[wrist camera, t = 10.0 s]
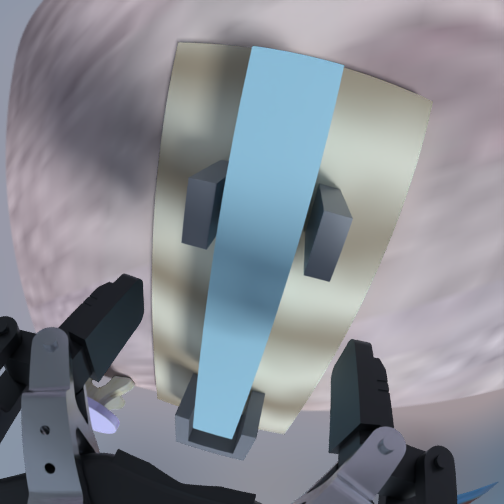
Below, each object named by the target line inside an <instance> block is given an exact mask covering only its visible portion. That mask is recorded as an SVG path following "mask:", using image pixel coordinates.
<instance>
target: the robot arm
mask: <svg viewBox="0 0 504 504" xmlns="http://www.w3.org/2000/svg"><path fill="white" fill-rule="evenodd" d="M143 314H144V298H143V281H142V280H141V279H139V278H136V277H133V276H130V275H127V274H122V275H121V276H120V277H119V278H118V279H117V280H116V281H115V282H114V283H111V282H108V283H106V284H104V285H102V286H100V287H98V288H97V289H96V290H95V291H94V292H93V293H92V294H91V295H90V297H88V298H87V299H86V300H85V301H84V302H83V304H81V305H80V306H79V307H78V308H77V309H76V310H75V311H74V312H73V313H72V314H71V315H70V316H69V317H68V318H67V319H66V320H65V321H64V322H63V323H62V325H61V326H60V327H59V328H55V327H49V328H45V329H42V330H41V331H39V332H38V333H37V334H35V333H31V332H27V331H22V330H19V328H18V325H17V323H16V321H15V320H14V319H13V318H11V317H8V316H3V317H0V369H1V368H2V367H3V366H4V367H5V369H6V370H5V371H4V373H3V374H2V375H1V376H0V443H1V441H2V440H3V438H4V436H5V434H6V433H7V431H8V429H9V428H10V426H11V424H12V423H13V421H14V419H15V417H16V416H17V414H18V413H19V411H20V410H21V419H22V420H21V421H22V441H23V453H24V462H25V470H26V473H23V474H19V475H15V476H11V477H7V478H3V479H0V504H261V503H259V502H257V501H255V497H256V494H251V493H246V492H241V491H237V490H233V489H229V488H224V487H219V486H202V485H190V484H183V483H180V482H178V481H176V480H175V479H173V478H171V477H170V476H168V475H167V474H165V473H164V472H162V471H161V470H159V469H158V468H156V467H155V466H153V465H152V464H150V463H149V462H146V461H144V460H141V459H139V458H137V457H135V456H132V455H130V454H128V453H126V452H124V451H122V450H120V449H118V450H117V452H116V454H115V455H114V454H108V453H100V452H99V447H98V444H97V441H96V438H95V435H94V433H93V429H92V425H91V419H90V413H89V406H88V399H87V391H86V385H85V383H86V382H87V380H88V379H89V378H91V379H93V380H95V381H97V382H99V381H100V380H101V378H102V377H103V375H104V374H105V372H106V371H107V370H108V368H109V367H110V365H111V364H112V362H113V361H114V359H115V358H116V357H117V355H118V354H119V352H120V351H121V349H122V348H123V347H124V345H125V344H126V342H127V341H128V340H129V338H130V337H131V335H132V334H133V333H134V331H135V330H136V328H137V327H138V326H139V324H140V322H141V320H142V318H143ZM387 381H388V380H387V374H386V369H385V368H384V366H383V364H382V362H381V361H380V359H379V358H374V357H373V351H372V345H371V343H368V342H364V341H359V340H354V339H351V340H350V341H349V342H348V344H347V346H346V347H345V349H344V351H343V352H342V354H341V356H340V357H339V359H338V361H337V362H336V364H335V366H334V368H333V372H332V376H331V409H330V436H329V453H334V454H339V456H338V461H337V462H336V463H335V464H334V465H333V466H332V467H331V468H330V469H329V470H328V471H327V472H326V473H325V474H324V475H323V476H322V477H321V478H320V479H319V480H318V481H317V482H316V483H315V484H314V485H313V486H312V487H311V488H310V489H309V490H307V491H306V492H305V493H304V494H303V495H302V496H301V497H299V498H298V499H296V500H295V501H294V502H292V503H291V504H374V503H373V499H374V498H375V496H376V494H379V501H378V504H457V488H456V473H455V464H454V458H453V455H452V454H451V452H450V451H449V450H448V449H447V448H445V447H443V446H434V447H432V448H430V449H429V450H428V451H423V450H420V449H417V448H414V447H411V446H409V445H406V442H405V439H404V437H403V436H402V434H401V433H400V432H399V431H397V430H396V429H394V425H393V416H392V408H391V400H390V393H388V392H389V387H388V383H387Z"/></svg>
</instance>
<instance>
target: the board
mask: <svg viewBox="0 0 504 504" xmlns="http://www.w3.org/2000/svg"><path fill="white" fill-rule="evenodd" d="M251 50H252V48H249V47H241V46H231V45H220V44H206V43H178V46H177V51H176V55H175V60H174V65H173V70H172V75H171V80H170V85H169V91H168V97H167V103H166V109H165V116H164V122H163V129H162V137H161V145H160V153H159V162H158V172H157V183H156V195H155V209H154V226H153V250H152V321H153V346H154V362H155V376H156V387H157V396H158V397H157V398H158V399H160V400H162V401H165V402H168V403H171V404H173V405H176V406H179V405H180V403H181V400H182V398H183V396H184V393H185V391H186V389H187V386H188V384H189V382H190V379H191V377H192V375H193V374H196V375H198V370H199V361H200V352H201V344H202V336H203V327H204V319H205V312H206V304H207V297H208V289H209V282H210V275H211V268H212V261H213V254H214V248H215V241H216V237H215V239H214V240H213V241H212V243H211V244H210V246H209V247H208V248H207V250H206V249H202V248H199V247H195V246H191V245H187V244H184V243H181V241H182V230H183V221H184V211H185V202H186V194H187V186H188V178H189V177H191V176H192V175H194V174H196V173H198V172H199V171H201V170H203V169H205V168H207V167H209V166H210V165H212V164H214V163H216V162H218V161H220V160H225V161H229V158H230V153H231V147H232V142H233V137H234V131H235V126H236V121H237V116H238V111H239V106H240V101H241V96H242V91H243V87H244V82H245V77H246V73H247V68H248V63H249V59H250V55H251ZM432 103H433V101H430V100H428V99H426V98H424V97H422V96H420V95H417V94H415V93H413V92H411V91H408V90H406V89H403V88H401V87H398V86H396V85H393V84H391V83H388V82H386V81H383V80H380V79H377V78H375V77H372V76H369V75H366V74H363V73H360V72H357V71H354V70H350V69H347V68H344V69H343V73H342V78H341V82H340V87H339V91H338V95H337V100H336V104H335V108H334V112H333V117H332V121H331V125H330V129H329V133H328V137H327V141H326V145H325V149H324V153H323V156H322V160H321V164H320V168H319V172H318V175H317V179H316V183H315V187H314V190H313V194H312V197H311V201H310V205H309V208H308V212H307V215H306V219H305V222H304V226H303V229H302V233H301V236H300V239H299V243H298V246H297V250H296V253H295V256H294V260H293V263H292V266H291V269H290V273H289V276H288V279H287V282H286V285H285V289H284V292H283V295H282V298H281V301H280V304H279V307H278V311H277V314H276V317H275V320H274V323H273V326H272V329H271V332H270V335H269V338H268V341H267V344H266V347H265V350H264V353H263V355H262V358H261V361H260V364H259V367H258V370H257V373H256V375H255V378H254V381H253V384H252V387H251V389H250V392H249V395H248V398H247V400H246V403H245V406H244V409H243V411H242V415H243V414H244V411H245V408H246V406H247V403H248V401H249V398H250V395H251V393H252V391H256V392H260V393H265V398H264V403H263V408H262V413H261V418H260V423H259V427H258V429H260V430H265V431H270V432H275V433H280V434H285V432H286V431H287V430H288V428H289V427H290V425H291V424H292V422H293V421H294V419H295V418H296V416H297V415H298V413H299V412H300V410H301V409H302V407H303V406H304V404H305V403H306V401H307V400H308V398H309V397H310V395H311V393H312V392H313V390H314V389H315V387H316V385H317V384H318V382H319V381H320V379H321V377H322V376H323V374H324V372H325V370H326V369H327V367H328V365H329V364H330V362H331V360H332V358H333V357H334V355H335V353H336V351H337V350H338V348H339V346H340V344H341V342H342V340H343V339H344V337H345V335H346V333H347V331H348V329H349V327H350V325H351V324H352V322H353V320H354V318H355V316H356V314H357V312H358V310H359V308H360V306H361V304H362V302H363V300H364V297H365V295H366V293H367V291H368V289H369V287H370V285H371V283H372V280H373V278H374V276H375V274H376V272H377V269H378V267H379V265H380V262H381V260H382V258H383V255H384V253H385V251H386V248H387V246H388V243H389V241H390V238H391V236H392V233H393V231H394V228H395V226H396V223H397V220H398V218H399V215H400V212H401V210H402V207H403V204H404V201H405V198H406V195H407V192H408V189H409V187H410V183H411V180H412V177H413V174H414V171H415V168H416V164H417V161H418V158H419V154H420V151H421V147H422V144H423V140H424V136H425V132H426V129H427V125H428V121H429V116H430V112H431V108H432ZM319 183H320V184H324V185H327V186H331V187H334V188H337V189H340V190H341V192H342V195H343V197H344V199H345V201H346V204H347V206H348V208H349V211H350V213H351V215H352V218H353V220H352V223H351V226H350V229H349V232H348V235H347V237H346V240H345V243H344V246H343V248H342V251H341V254H340V257H339V259H338V262H337V265H336V267H335V270H334V272H333V275H332V278H331V280H330V282H328V281H324V280H320V279H316V278H312V277H308V276H304V275H303V274H304V250H305V231H306V228H307V224H308V221H309V217H310V214H311V211H312V207H313V204H314V200H315V197H316V193H317V189H318V186H319Z"/></svg>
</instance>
